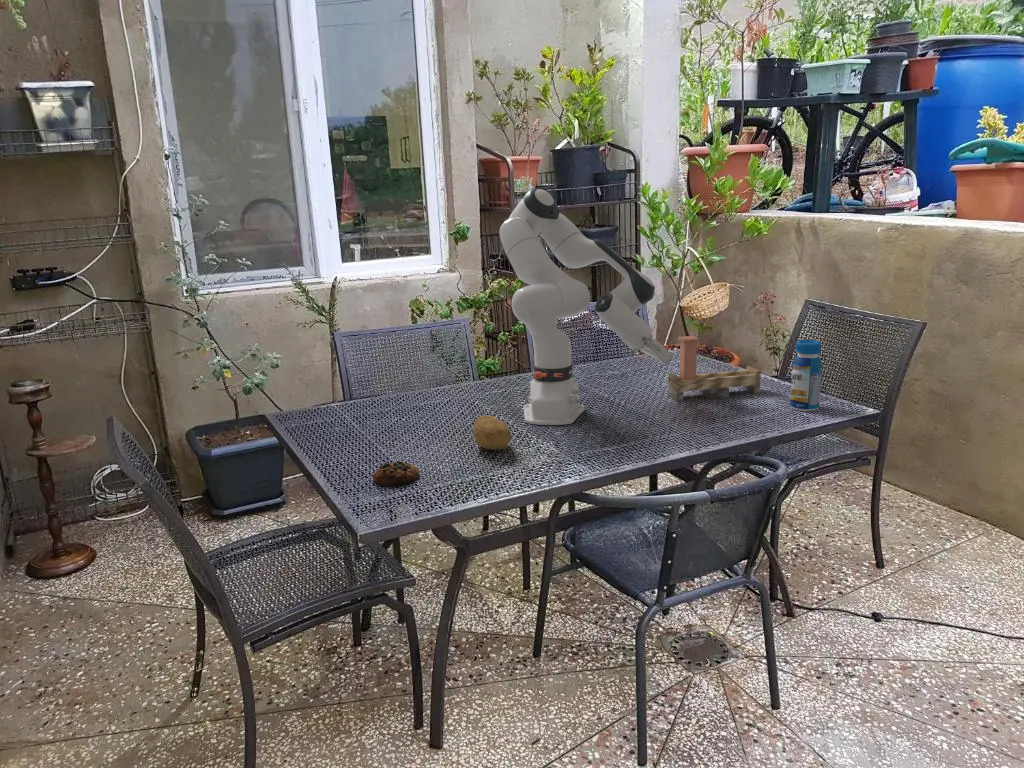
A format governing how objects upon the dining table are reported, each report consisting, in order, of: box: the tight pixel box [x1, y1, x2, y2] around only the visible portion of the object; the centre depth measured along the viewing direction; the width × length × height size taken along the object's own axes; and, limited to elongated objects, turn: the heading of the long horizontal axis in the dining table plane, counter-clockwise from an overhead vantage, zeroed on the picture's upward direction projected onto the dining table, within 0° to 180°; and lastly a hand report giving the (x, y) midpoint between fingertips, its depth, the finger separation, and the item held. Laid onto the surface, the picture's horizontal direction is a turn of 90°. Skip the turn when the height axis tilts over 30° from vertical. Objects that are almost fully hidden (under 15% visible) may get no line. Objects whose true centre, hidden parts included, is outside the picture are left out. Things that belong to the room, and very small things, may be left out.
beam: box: [667, 365, 762, 402], centre depth 236 cm, size 28×9×7 cm, turn 101°
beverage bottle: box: [789, 339, 823, 412], centre depth 218 cm, size 8×8×20 cm
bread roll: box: [372, 460, 421, 487], centre depth 179 cm, size 11×11×5 cm
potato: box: [472, 414, 512, 451], centre depth 195 cm, size 10×14×8 cm
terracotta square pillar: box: [677, 335, 700, 380], centre depth 232 cm, size 5×5×14 cm
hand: (666, 363), depth 232 cm, fingers closed
